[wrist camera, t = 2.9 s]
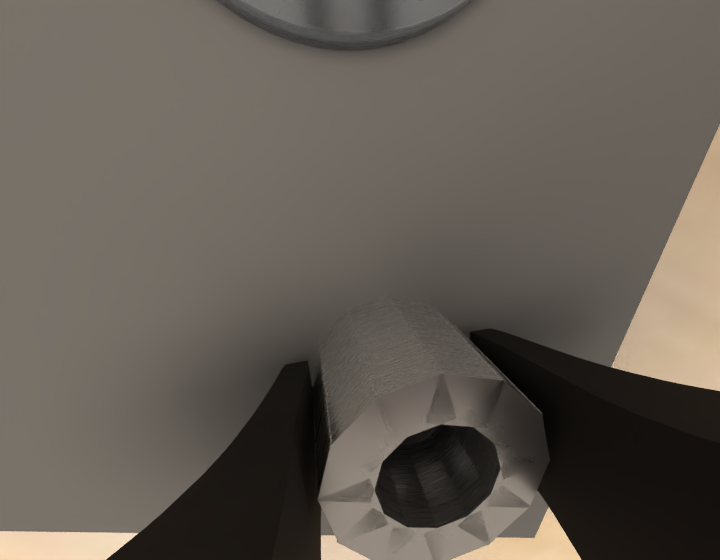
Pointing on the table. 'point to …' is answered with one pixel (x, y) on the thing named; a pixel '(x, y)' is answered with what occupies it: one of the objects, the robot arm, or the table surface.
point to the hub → (346, 20)
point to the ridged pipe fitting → (413, 415)
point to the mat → (308, 213)
